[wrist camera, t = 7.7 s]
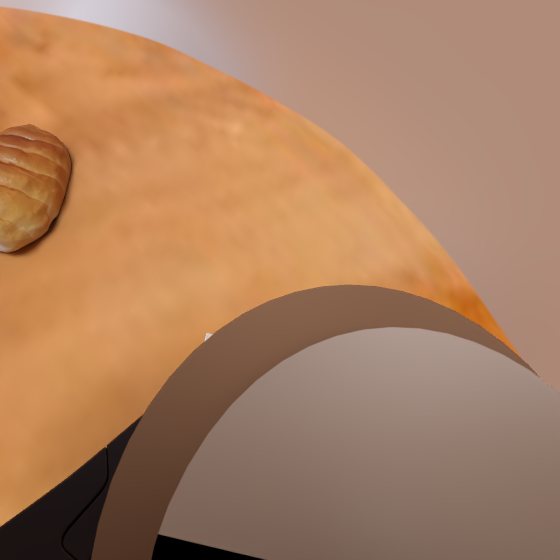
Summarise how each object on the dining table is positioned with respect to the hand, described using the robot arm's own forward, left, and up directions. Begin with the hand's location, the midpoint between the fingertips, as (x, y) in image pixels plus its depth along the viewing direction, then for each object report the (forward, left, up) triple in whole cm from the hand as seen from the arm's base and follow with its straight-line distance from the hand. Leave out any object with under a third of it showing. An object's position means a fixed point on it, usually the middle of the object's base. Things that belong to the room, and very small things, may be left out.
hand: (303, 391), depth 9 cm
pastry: (+9, +21, -10) cm, 25 cm away
